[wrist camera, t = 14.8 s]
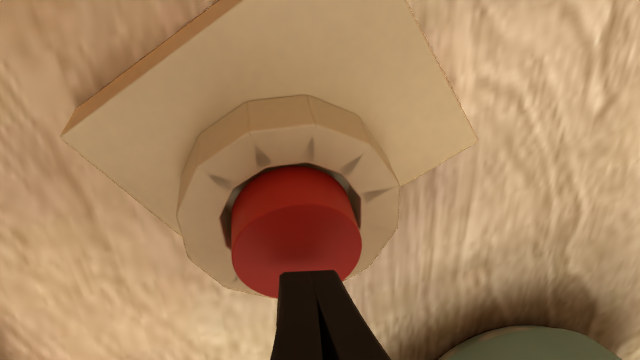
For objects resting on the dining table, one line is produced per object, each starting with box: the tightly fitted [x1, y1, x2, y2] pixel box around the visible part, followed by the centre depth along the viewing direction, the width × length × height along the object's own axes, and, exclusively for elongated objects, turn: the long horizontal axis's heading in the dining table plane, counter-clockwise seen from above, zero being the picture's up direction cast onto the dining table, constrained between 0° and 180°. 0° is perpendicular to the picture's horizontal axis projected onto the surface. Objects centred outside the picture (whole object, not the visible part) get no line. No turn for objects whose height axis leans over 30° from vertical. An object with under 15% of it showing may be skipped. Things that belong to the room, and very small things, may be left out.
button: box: [231, 166, 362, 298], centre depth 14 cm, size 4×4×2 cm
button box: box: [60, 0, 478, 299], centre depth 15 cm, size 10×9×4 cm
